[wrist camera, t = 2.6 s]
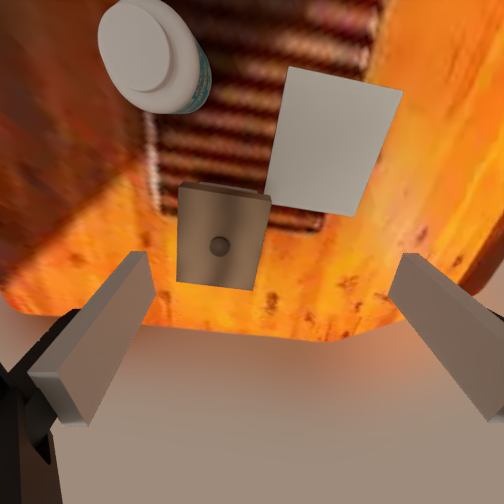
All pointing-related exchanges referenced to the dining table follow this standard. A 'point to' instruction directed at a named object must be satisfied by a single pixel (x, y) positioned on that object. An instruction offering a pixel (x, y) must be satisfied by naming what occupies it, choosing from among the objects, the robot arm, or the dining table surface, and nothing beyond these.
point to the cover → (220, 235)
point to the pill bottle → (153, 57)
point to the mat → (327, 141)
